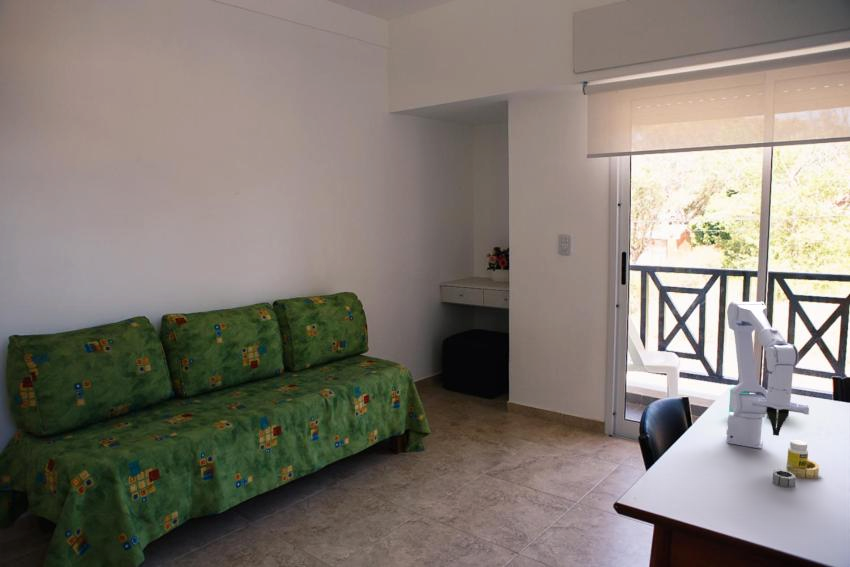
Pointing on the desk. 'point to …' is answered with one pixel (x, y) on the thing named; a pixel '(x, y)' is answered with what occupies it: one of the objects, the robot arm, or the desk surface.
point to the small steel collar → (783, 478)
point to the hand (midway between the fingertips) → (775, 434)
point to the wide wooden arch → (805, 470)
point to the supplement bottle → (797, 454)
